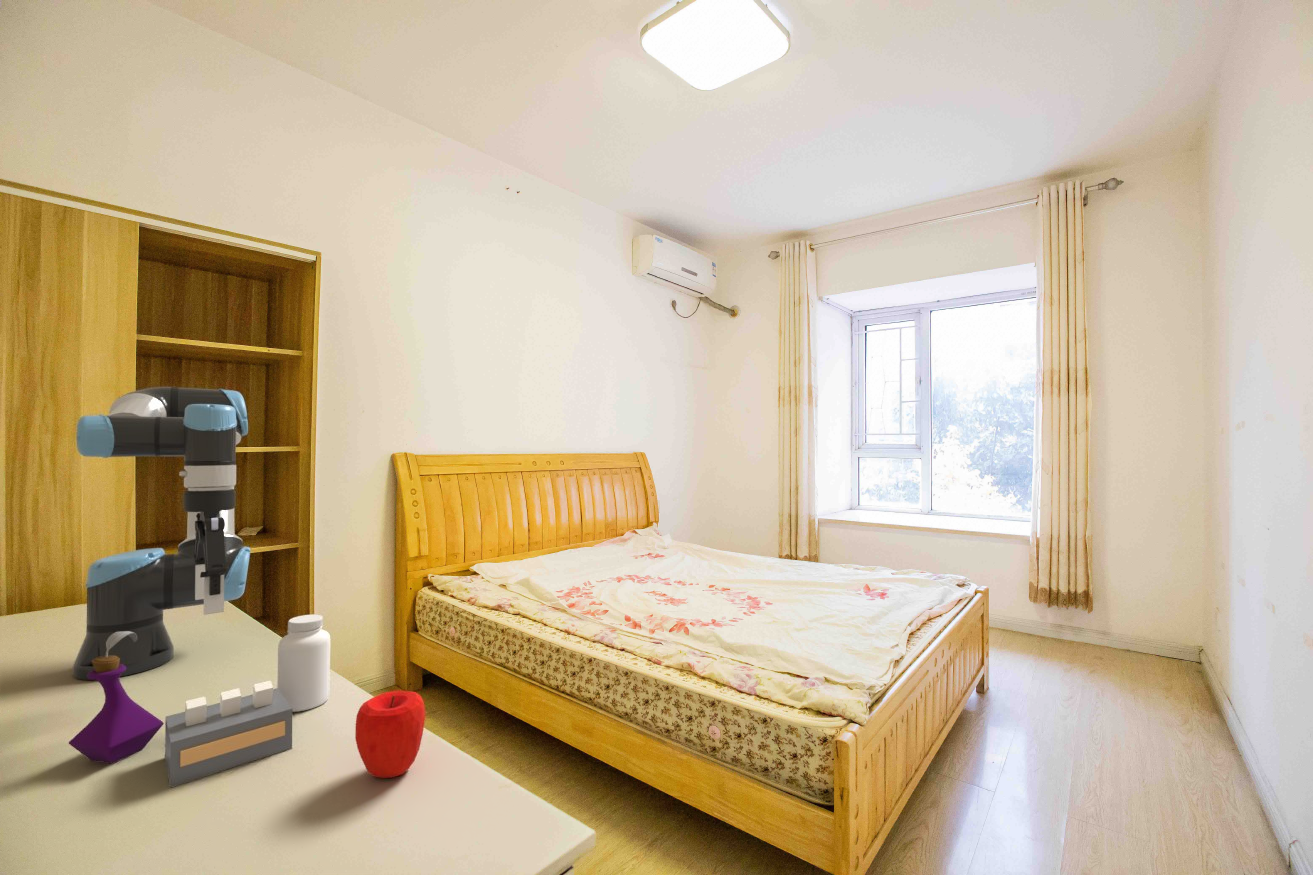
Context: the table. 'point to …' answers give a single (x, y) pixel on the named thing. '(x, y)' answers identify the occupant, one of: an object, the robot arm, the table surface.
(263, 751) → the breaker panel
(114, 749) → the perfume bottle
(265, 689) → the cream sugar cube
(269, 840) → the table surface
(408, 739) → the apple
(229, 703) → the paddle middle
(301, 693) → the pill bottle
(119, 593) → the robot arm
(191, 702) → the paddle left
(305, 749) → the table surface
